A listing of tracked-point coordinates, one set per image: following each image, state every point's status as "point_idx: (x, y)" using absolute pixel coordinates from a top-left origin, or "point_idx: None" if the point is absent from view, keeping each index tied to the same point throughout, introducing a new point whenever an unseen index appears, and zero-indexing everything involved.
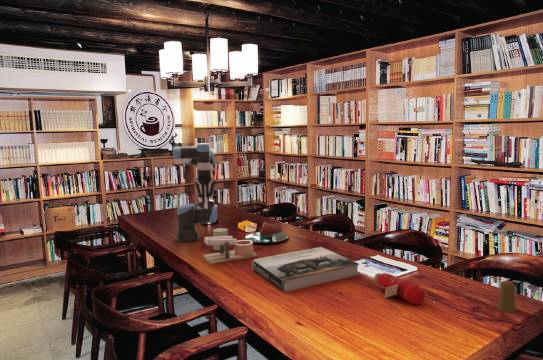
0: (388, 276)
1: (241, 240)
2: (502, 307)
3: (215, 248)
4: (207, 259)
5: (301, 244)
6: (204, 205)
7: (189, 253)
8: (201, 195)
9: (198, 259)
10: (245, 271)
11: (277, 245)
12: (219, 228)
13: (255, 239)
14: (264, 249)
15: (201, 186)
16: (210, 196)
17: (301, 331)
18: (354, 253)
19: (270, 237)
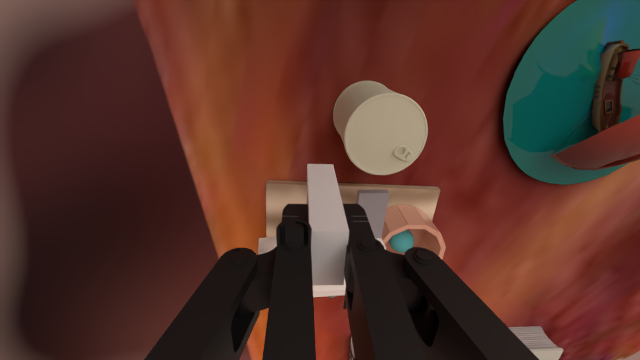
0: None
1: (420, 227)
2: None
3: (336, 128)
4: (266, 236)
5: (608, 222)
6: (307, 195)
7: (224, 115)
8: (251, 322)
9: (243, 201)
10: (331, 332)
11: (547, 193)
12: (399, 98)
13: (538, 104)
14: (482, 211)
15: None
16: None
17: None
18: (615, 336)
19: (595, 127)
